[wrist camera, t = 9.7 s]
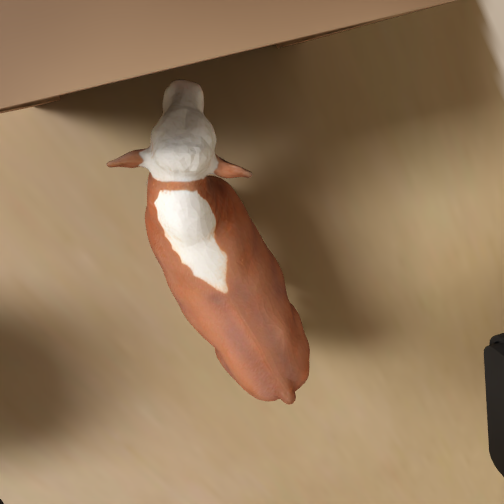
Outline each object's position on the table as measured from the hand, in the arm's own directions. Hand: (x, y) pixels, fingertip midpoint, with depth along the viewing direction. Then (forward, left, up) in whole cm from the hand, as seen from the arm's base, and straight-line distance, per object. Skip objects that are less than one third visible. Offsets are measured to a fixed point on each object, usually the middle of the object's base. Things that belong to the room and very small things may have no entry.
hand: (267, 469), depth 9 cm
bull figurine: (0, 0, -16) cm, 16 cm away
